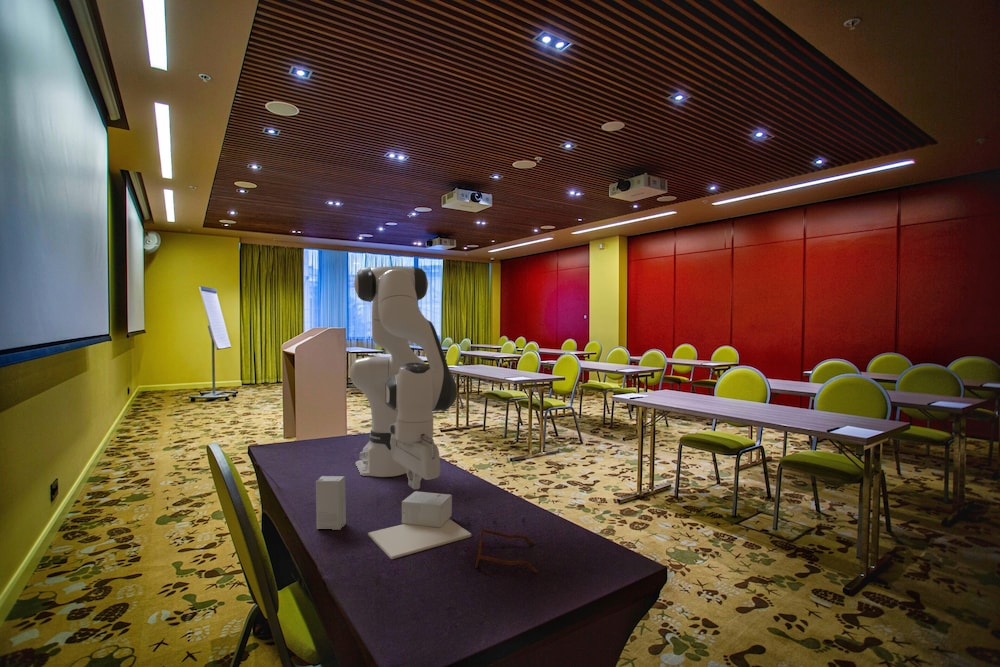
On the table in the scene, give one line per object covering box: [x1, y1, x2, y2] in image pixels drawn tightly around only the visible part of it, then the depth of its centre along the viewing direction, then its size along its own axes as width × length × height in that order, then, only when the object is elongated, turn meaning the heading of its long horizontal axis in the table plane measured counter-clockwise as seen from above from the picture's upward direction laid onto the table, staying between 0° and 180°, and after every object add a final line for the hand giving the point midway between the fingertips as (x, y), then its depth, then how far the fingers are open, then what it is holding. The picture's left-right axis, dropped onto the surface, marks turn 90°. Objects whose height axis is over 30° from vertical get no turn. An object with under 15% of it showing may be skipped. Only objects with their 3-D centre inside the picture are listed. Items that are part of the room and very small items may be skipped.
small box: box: [401, 490, 453, 528], centre depth 120 cm, size 8×6×10 cm
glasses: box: [474, 525, 538, 572], centre depth 103 cm, size 13×13×5 cm
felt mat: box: [367, 518, 472, 560], centre depth 112 cm, size 14×20×1 cm
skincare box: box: [315, 475, 347, 531], centre depth 116 cm, size 6×4×12 cm
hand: (414, 487), depth 115 cm, fingers closed
